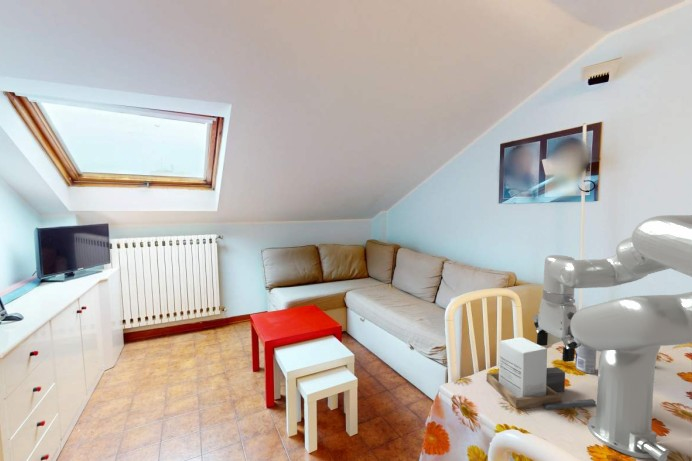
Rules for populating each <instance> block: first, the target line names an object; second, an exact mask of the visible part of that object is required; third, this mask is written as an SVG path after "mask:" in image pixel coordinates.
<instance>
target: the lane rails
mask: <svg viewBox="0 0 692 461" xmlns="http://www.w3.org/2000/svg"><path fill="white" fill-rule="evenodd" d="M593 406H596V407H597V400H595V399H593V398H588V399H577V400H563V401H561V402H553V403H544V405H543V406H542V407H543V409H544V410H546V411H550V410H560V409H561V410H563V409H572V408H584V407H593Z"/></svg>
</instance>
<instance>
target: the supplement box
mask: <svg viewBox="0 0 692 461" xmlns="http://www.w3.org/2000/svg"><path fill="white" fill-rule="evenodd" d="M498 348H499V349H498V351H499V355H498V356H499V358H498V373H499V382H500V383H501V384H502V385H503V386H504V387H505V388H506V389H507V390H509V391H510V392H511V393H512V394H513V395H514V396H515V397H517V398H520V397H532V396H544V395H546V376H547V368H548V366H547V365H548V348H547V347H544V346H540V345H538V344H537V342H536V343H535V342H533V341H531V340H529V339H528V338H525V337H522V336H521V337H520V336H519V337H516V338H515V337H514V338H510V339H504V340H499V347H498Z"/></svg>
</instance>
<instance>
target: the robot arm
mask: <svg viewBox="0 0 692 461" xmlns="http://www.w3.org/2000/svg"><path fill="white" fill-rule="evenodd" d="M615 250H616V251H615V255H613V256H610V257H606V258H601V259H575V258H574V257H572V256H568V255H559V254H556V255H554V254H552V255H547V256H546V257H545V259H544V271H543V283H542V284H543V285H542V286H543V287H542V298H541V301H540V305H539V309H538V314H534V315H532V319H533V321H534V322H533V323H534V324H533V325H534V327H535V328H536V329H535V332H536V334H537V336H536V344H538V345H540V346H542V347H544V346H548V339H549V338H548V337H549V334H550V335H552V336H554V337H555V338H558V339H560V340H561V342H562V343H563V345H564V347H562V357H561V359H562V361H563V362H564V363H566V362H574V361H575V354H576V349H577V347H579V346H580V345H581V344H582V345H583V346H585V347H587V348H589V349H591V350H595V351H596V352H600V354H599V358H598V371H597V372H598V374H597V388H596V390H597V393H596V412H595V413H596V415H594V416H590V418H588V420H587V428H588V430H589V432H590V433H591V435H593V437H595V438H596V439H597V440H598V441H600V442H601V443H603V444H604V445H605V446H607V447H609V448H610V449H613V450H615V451H617V452H619V453H621V454H624V455H627V456H629V457H635V458H638V459H639V458H640V459H656V460H657V461H667V459H668V455H669V454H670V450H669V449H668V448H667V447H665V446H664V445H662V444H660V443H659V442H658V441H657V432H655V431H654V430H652V419H653V418H652V416H653V401H654V399H653V398H654V384H655V374H656V373H655V372H656V370H655V369H656V363H657V358H658V356H659V355H658V354H659V352H660V349H661V347H664V346H678V345H687V344H692V291H689V292H684V293H677V294H655V295H653V294H651V295H650V294H649V295H632V296H627V297H621V298H615V299H613V300H609V301H603V302H601V303H598V304H593V305H589V306H586V307H582V308H581V309H578V310H577V306H576V305H575V302H576V299H575V298H574V297H575V289H593V288H594V289H595V288H609V287H615V286H621V285H625V284H629V283H632V282H637V281H639V280H641V279H644V278H645V277H647V276H648V275H651V274H655V273H658V272H662V271H667V270H668V269H671V270H673V271H676V272H678V273H681V274H683V275H686V276H690V277H692V215H690V214H685V215H681V214H680V215H676V214H675V215H673V214H672V215H671V214H670V215H667V214H666V215H657V216H656V215H655V216H652V217H649V218H646V219H645V220H643V221H642V222H640V223H639V224H638V225H637V226H636V227H635V228H634V230H633V231H632V234H631V236H630V237H628V238H624V239H622V240H621V241H620V242H619V243H618V244H617V246H616V249H615ZM568 341H569V342H568Z"/></svg>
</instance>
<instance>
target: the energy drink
mask: <svg viewBox="0 0 692 461" xmlns="http://www.w3.org/2000/svg"><path fill="white" fill-rule="evenodd" d="M574 366H575V368H576V369H577V371H580V372H582V373H585V374H595V373H596V369H597V368H596V367H597V351H595V350H591V349H589V348H587V347H585V346H583V345H582V344H581V345H580V346H579V347H577V349H575V365H574Z"/></svg>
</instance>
